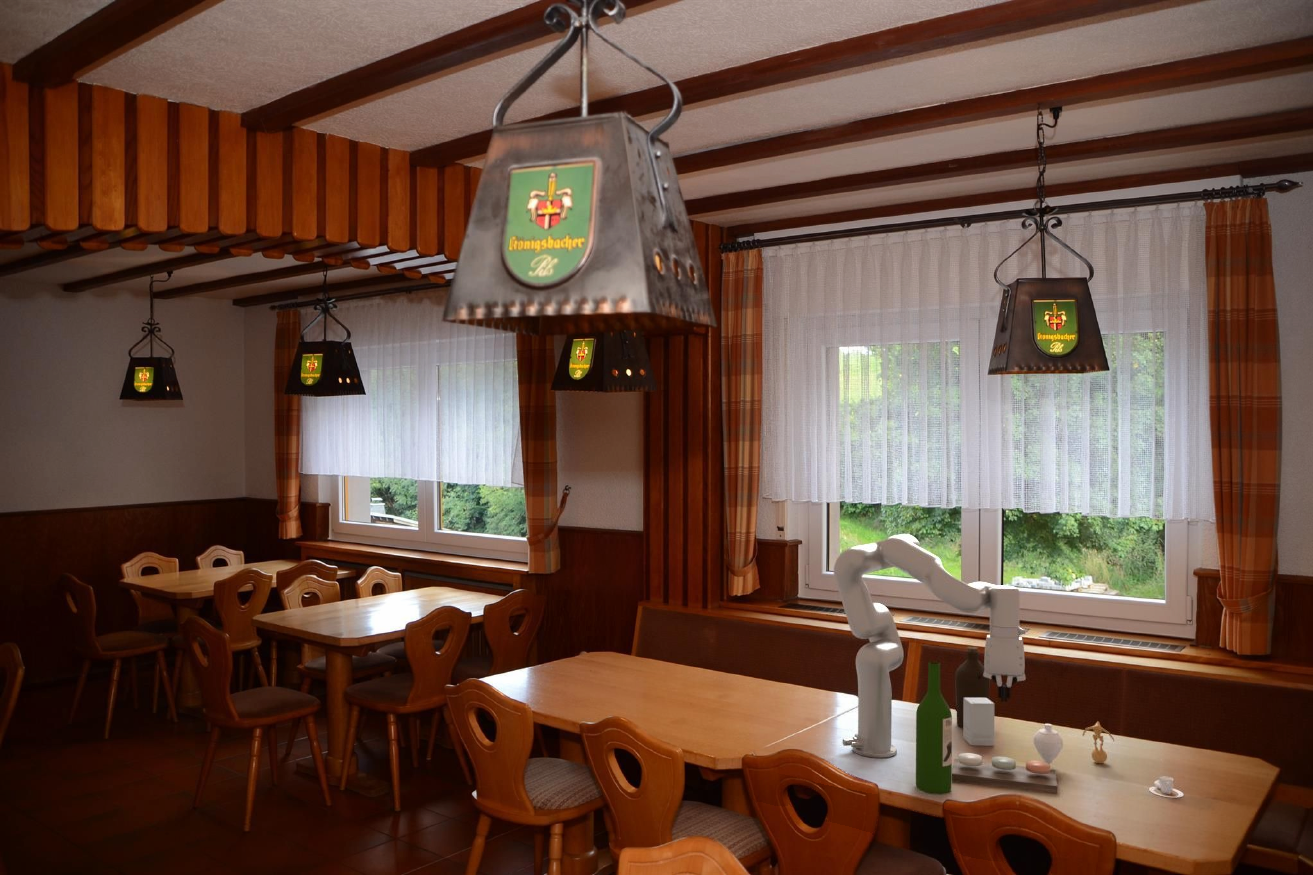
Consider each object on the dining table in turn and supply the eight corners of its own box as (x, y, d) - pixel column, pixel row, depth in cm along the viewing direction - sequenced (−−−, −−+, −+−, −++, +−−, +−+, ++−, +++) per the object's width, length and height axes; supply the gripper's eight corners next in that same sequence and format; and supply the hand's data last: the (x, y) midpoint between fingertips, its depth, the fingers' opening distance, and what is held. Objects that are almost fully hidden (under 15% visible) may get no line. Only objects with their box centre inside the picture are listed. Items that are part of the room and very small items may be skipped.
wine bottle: (946, 796, 245) (946, 668, 245) (911, 789, 249) (912, 664, 250) (955, 786, 252) (956, 662, 252) (921, 779, 257) (922, 657, 257)
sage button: (1001, 770, 254) (1001, 764, 254) (987, 763, 260) (987, 757, 260) (1020, 768, 256) (1020, 762, 256) (1006, 761, 262) (1006, 755, 262)
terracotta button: (1035, 774, 251) (1035, 768, 251) (1020, 767, 257) (1021, 761, 257) (1055, 772, 253) (1055, 766, 253) (1040, 765, 259) (1040, 759, 259)
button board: (1057, 793, 247) (1057, 786, 247) (951, 781, 256) (951, 773, 256) (1054, 777, 259) (1054, 770, 260) (954, 765, 268) (954, 758, 268)
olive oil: (996, 727, 306) (997, 648, 306) (976, 732, 299) (977, 652, 300) (967, 719, 314) (968, 642, 314) (947, 724, 308) (948, 646, 308)
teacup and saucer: (1153, 785, 255) (1153, 769, 255) (1187, 792, 250) (1187, 776, 250) (1145, 794, 249) (1145, 778, 249) (1180, 801, 244) (1180, 785, 244)
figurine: (1116, 763, 271) (1116, 721, 271) (1112, 769, 266) (1112, 726, 266) (1085, 758, 276) (1085, 716, 276) (1080, 763, 271) (1080, 721, 271)
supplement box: (995, 746, 286) (995, 703, 287) (970, 745, 287) (970, 703, 287) (987, 738, 294) (987, 697, 294) (962, 738, 294) (962, 696, 294)
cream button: (967, 766, 257) (967, 760, 257) (954, 759, 263) (954, 753, 263) (986, 764, 259) (986, 759, 259) (973, 757, 264) (973, 752, 264)
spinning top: (1033, 770, 265) (1033, 726, 265) (1032, 761, 273) (1033, 719, 273) (1063, 773, 263) (1063, 729, 263) (1062, 764, 270) (1062, 722, 270)
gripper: (1034, 631, 259) (1033, 699, 259) (975, 627, 264) (975, 694, 264) (1034, 636, 252) (1034, 707, 252) (974, 632, 257) (974, 701, 257)
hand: (1004, 700), depth 258 cm, fingers closed
